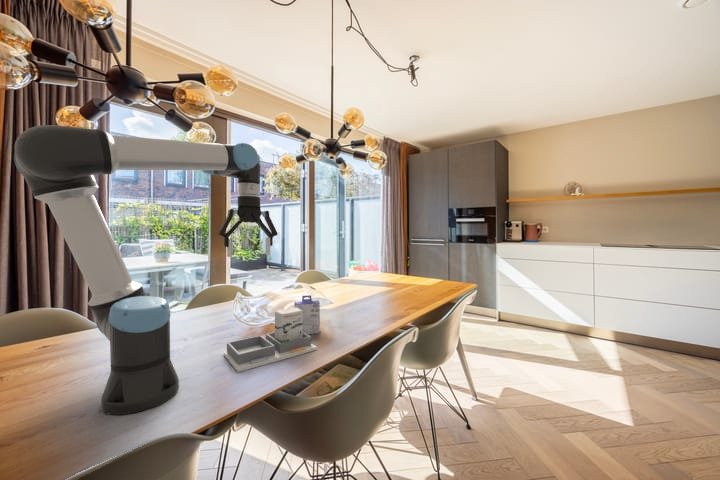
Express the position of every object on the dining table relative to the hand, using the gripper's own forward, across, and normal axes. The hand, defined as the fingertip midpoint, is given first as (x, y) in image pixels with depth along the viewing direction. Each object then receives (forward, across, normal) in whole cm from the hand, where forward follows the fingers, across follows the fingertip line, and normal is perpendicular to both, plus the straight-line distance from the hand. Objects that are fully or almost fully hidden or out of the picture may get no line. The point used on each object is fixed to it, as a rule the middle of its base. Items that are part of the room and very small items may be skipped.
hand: (249, 255), depth 107 cm
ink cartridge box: (+32, +22, -3) cm, 38 cm away
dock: (+31, +3, -13) cm, 34 cm away
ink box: (+31, +10, -12) cm, 34 cm away
